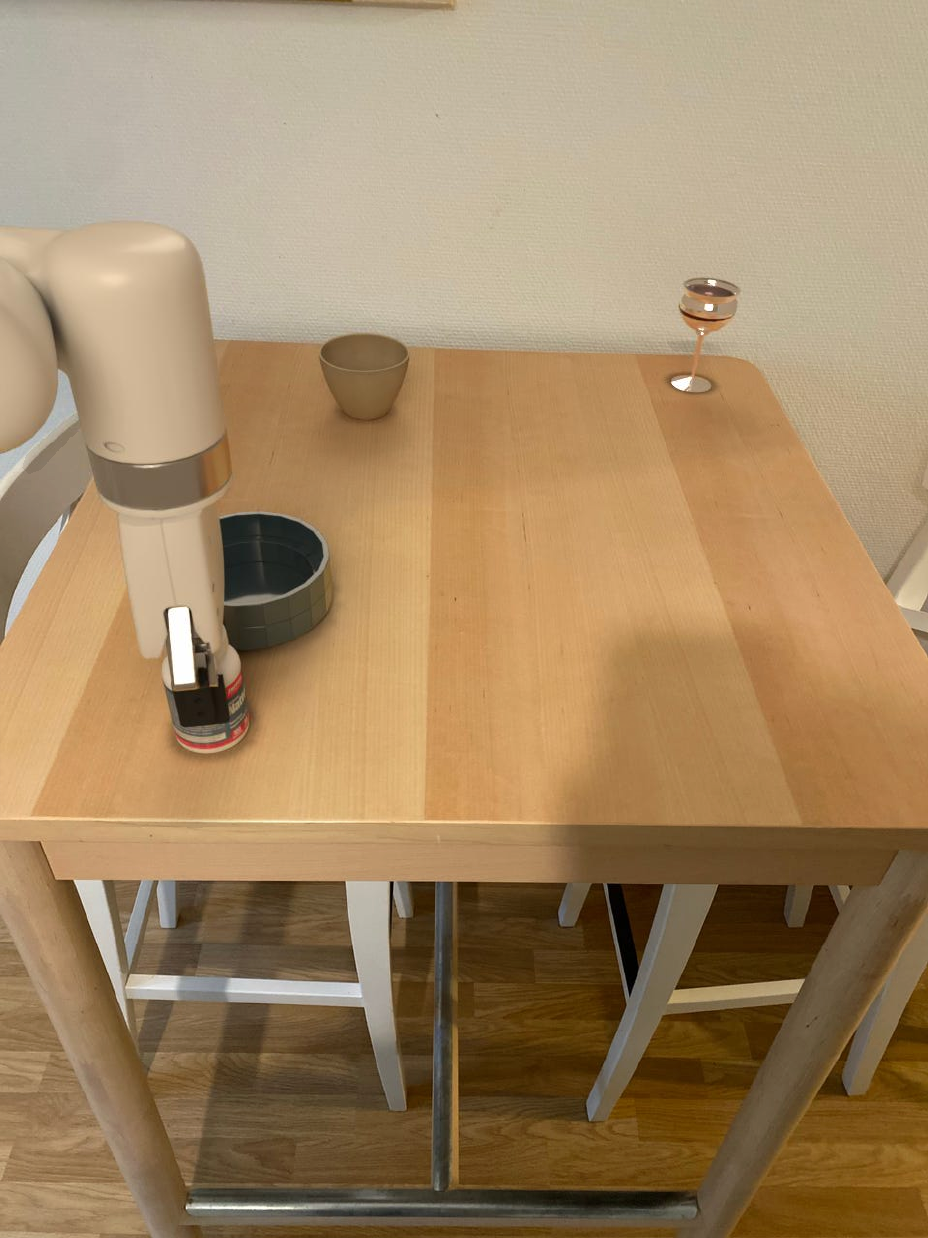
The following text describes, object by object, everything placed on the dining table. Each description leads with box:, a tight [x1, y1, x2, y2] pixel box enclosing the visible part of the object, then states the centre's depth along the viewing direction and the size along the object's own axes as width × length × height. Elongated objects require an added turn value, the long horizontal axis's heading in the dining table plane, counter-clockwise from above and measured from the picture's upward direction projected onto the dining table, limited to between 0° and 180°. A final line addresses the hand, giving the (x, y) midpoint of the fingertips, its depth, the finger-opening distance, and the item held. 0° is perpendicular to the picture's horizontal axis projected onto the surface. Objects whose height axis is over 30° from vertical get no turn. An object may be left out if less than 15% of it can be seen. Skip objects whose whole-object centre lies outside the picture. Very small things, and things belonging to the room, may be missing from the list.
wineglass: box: [670, 276, 742, 393], centre depth 109 cm, size 7×7×12 cm
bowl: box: [219, 510, 333, 651], centre depth 75 cm, size 13×13×5 cm
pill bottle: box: [161, 625, 250, 754], centre depth 62 cm, size 5×5×9 cm
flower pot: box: [317, 332, 411, 421], centre depth 102 cm, size 10×10×7 cm
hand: (206, 689), depth 63 cm, fingers closed on pill bottle, 5 cm apart
